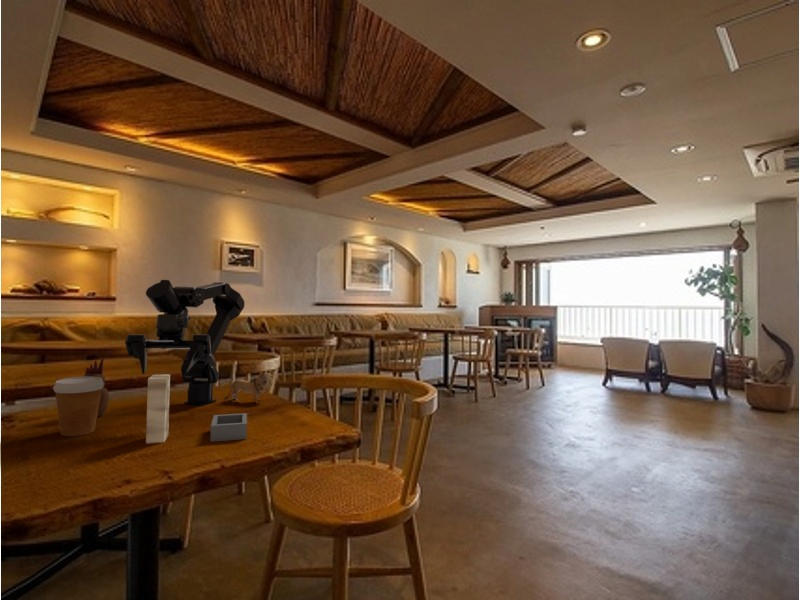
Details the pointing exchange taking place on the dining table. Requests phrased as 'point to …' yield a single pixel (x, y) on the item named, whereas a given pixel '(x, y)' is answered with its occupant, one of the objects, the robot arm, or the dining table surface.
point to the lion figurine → (252, 386)
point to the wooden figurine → (104, 393)
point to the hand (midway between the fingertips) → (164, 372)
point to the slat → (158, 408)
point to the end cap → (228, 427)
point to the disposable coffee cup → (78, 404)
